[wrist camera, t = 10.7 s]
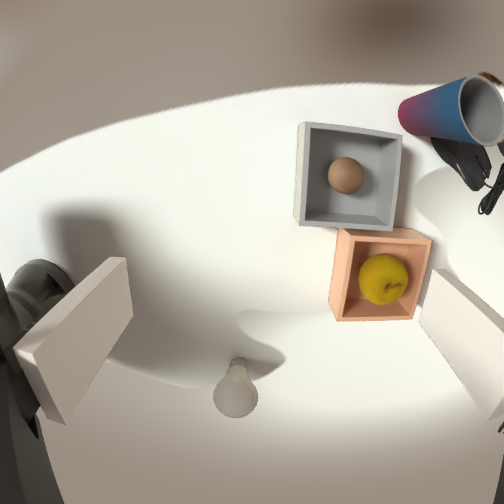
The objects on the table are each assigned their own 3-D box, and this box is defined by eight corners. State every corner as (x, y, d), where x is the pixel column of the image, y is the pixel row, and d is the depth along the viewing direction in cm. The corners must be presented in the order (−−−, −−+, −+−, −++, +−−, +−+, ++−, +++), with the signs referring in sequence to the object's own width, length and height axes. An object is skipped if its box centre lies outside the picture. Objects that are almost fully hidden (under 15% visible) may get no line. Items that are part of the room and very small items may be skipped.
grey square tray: (293, 214, 38) (298, 225, 33) (298, 124, 34) (305, 121, 29) (376, 219, 38) (392, 231, 33) (384, 135, 34) (402, 135, 29)
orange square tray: (328, 300, 42) (336, 321, 37) (338, 223, 38) (350, 235, 33) (397, 300, 42) (412, 319, 37) (412, 228, 38) (431, 240, 33)
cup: (440, 132, 33) (513, 136, 19) (403, 148, 35) (473, 155, 20) (422, 86, 31) (491, 69, 17) (383, 100, 33) (447, 82, 18)
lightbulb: (211, 359, 46) (201, 410, 36) (239, 339, 45) (234, 391, 34) (238, 380, 47) (234, 431, 37) (266, 362, 46) (267, 414, 36)
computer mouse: (462, 83, 31) (477, 80, 27) (515, 168, 35) (531, 172, 31) (421, 135, 34) (436, 135, 31) (481, 219, 38) (496, 226, 34)
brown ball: (322, 189, 36) (330, 195, 32) (325, 154, 35) (333, 155, 31) (356, 192, 36) (368, 199, 32) (359, 158, 35) (371, 160, 31)
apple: (398, 248, 39) (425, 270, 31) (385, 289, 41) (407, 318, 33) (357, 240, 38) (379, 262, 31) (345, 284, 41) (362, 314, 33)
